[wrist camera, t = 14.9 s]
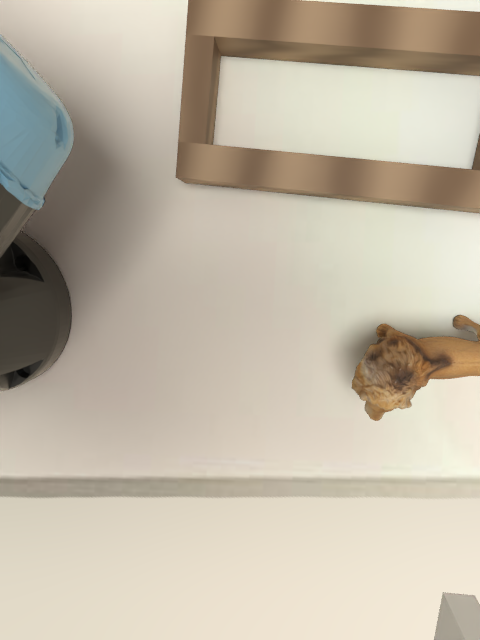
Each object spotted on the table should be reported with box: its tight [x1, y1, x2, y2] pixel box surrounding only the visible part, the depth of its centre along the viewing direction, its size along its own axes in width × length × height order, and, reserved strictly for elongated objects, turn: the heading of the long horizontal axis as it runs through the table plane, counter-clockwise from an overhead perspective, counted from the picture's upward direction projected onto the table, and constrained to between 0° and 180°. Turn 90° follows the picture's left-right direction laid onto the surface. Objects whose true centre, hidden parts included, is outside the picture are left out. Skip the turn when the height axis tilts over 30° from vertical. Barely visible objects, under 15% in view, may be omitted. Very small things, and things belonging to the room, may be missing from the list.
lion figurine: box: [352, 315, 480, 421], centre depth 29 cm, size 15×5×9 cm, turn 104°
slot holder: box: [176, 0, 480, 213], centre depth 29 cm, size 24×12×3 cm, turn 84°
